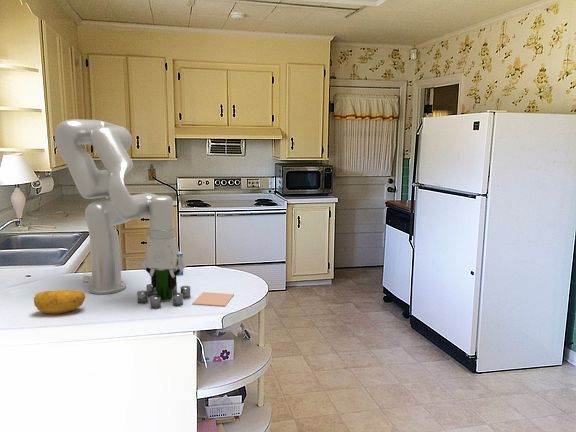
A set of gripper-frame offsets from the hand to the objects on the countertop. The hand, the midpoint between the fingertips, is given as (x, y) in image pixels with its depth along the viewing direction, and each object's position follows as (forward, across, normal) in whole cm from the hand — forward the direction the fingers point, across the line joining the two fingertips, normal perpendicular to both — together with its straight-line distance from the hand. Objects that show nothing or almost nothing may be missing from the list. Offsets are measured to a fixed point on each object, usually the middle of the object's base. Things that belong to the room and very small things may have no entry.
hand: (164, 286), depth 160 cm
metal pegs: (+4, 0, 0) cm, 4 cm away
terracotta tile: (+4, +16, +3) cm, 17 cm away
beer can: (+5, 0, 0) cm, 5 cm away
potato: (+5, -27, -16) cm, 32 cm away
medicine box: (+5, -8, +27) cm, 29 cm away
